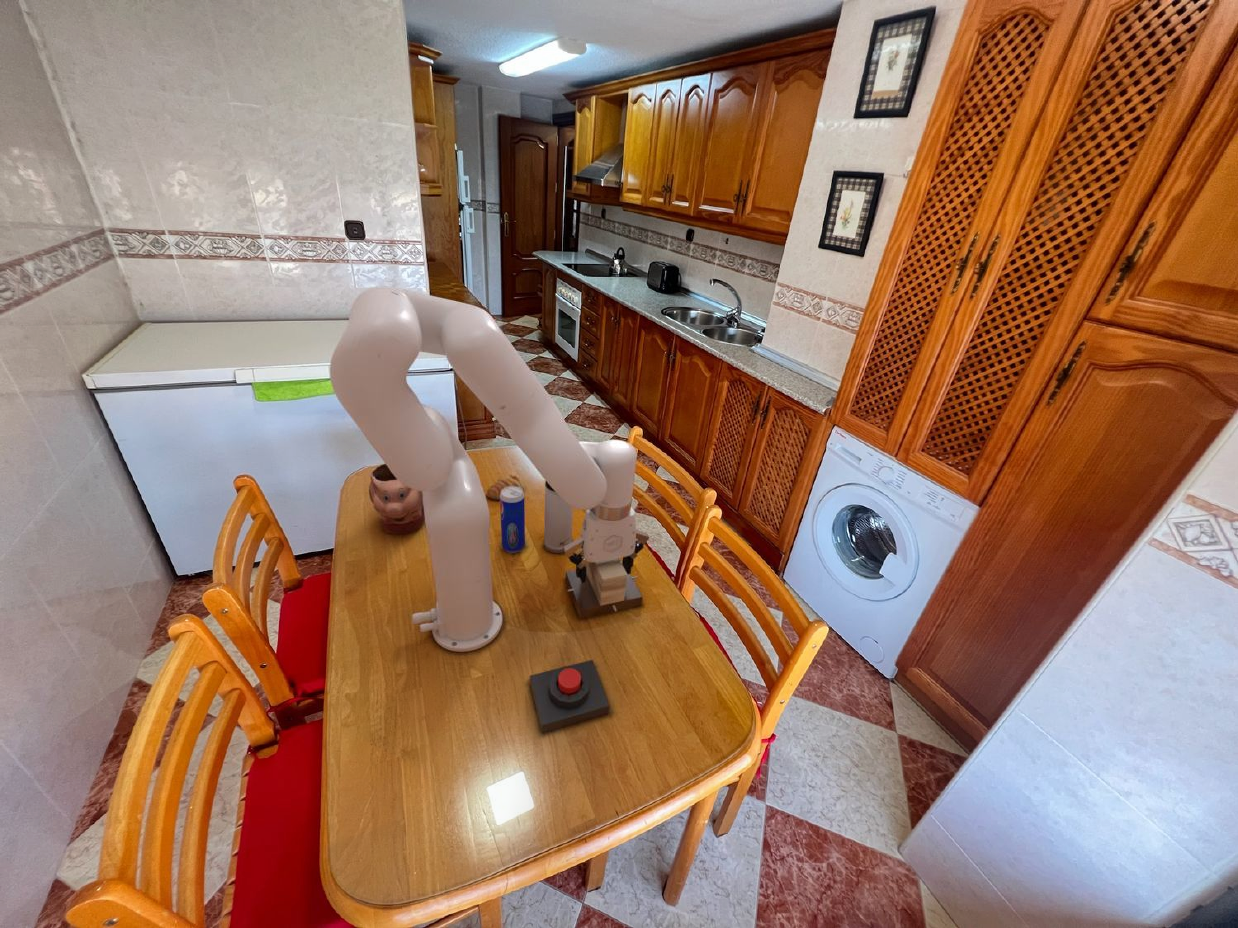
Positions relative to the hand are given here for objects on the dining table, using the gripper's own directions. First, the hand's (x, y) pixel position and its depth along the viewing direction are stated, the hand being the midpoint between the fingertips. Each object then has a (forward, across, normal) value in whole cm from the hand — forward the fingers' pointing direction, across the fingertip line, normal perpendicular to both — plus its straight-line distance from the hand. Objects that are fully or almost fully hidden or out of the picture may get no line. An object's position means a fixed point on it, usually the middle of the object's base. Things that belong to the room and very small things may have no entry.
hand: (604, 573), depth 100 cm
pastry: (+5, -13, +41) cm, 43 cm away
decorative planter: (+5, -38, +36) cm, 53 cm away
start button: (+2, -13, -21) cm, 25 cm away
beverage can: (+5, -15, +19) cm, 25 cm away
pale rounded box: (+3, 0, 0) cm, 3 cm away
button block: (+5, -13, -21) cm, 25 cm away
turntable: (+5, 0, 0) cm, 5 cm away
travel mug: (+5, -5, +17) cm, 19 cm away
